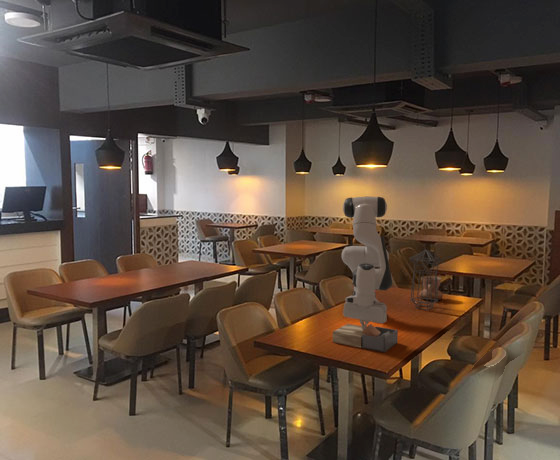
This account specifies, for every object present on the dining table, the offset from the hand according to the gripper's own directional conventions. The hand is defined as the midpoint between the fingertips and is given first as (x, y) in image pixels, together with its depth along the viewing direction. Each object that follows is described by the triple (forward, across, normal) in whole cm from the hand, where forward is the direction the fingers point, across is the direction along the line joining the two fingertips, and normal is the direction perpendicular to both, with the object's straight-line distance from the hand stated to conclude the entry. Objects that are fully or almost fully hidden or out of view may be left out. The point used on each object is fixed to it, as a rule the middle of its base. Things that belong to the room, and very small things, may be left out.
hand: (364, 329), depth 224 cm
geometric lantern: (+7, -1, -84) cm, 85 cm away
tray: (+6, -8, 0) cm, 10 cm away
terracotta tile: (+2, -3, 0) cm, 4 cm away
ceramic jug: (+8, +2, -108) cm, 108 cm away
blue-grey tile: (+1, -8, 0) cm, 8 cm away
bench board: (+6, +5, 0) cm, 8 cm away
